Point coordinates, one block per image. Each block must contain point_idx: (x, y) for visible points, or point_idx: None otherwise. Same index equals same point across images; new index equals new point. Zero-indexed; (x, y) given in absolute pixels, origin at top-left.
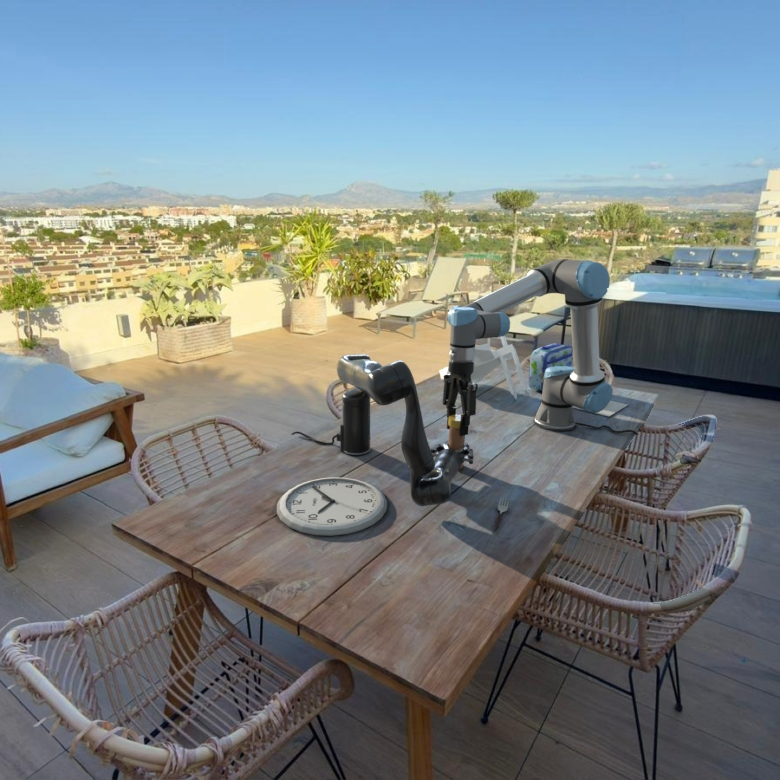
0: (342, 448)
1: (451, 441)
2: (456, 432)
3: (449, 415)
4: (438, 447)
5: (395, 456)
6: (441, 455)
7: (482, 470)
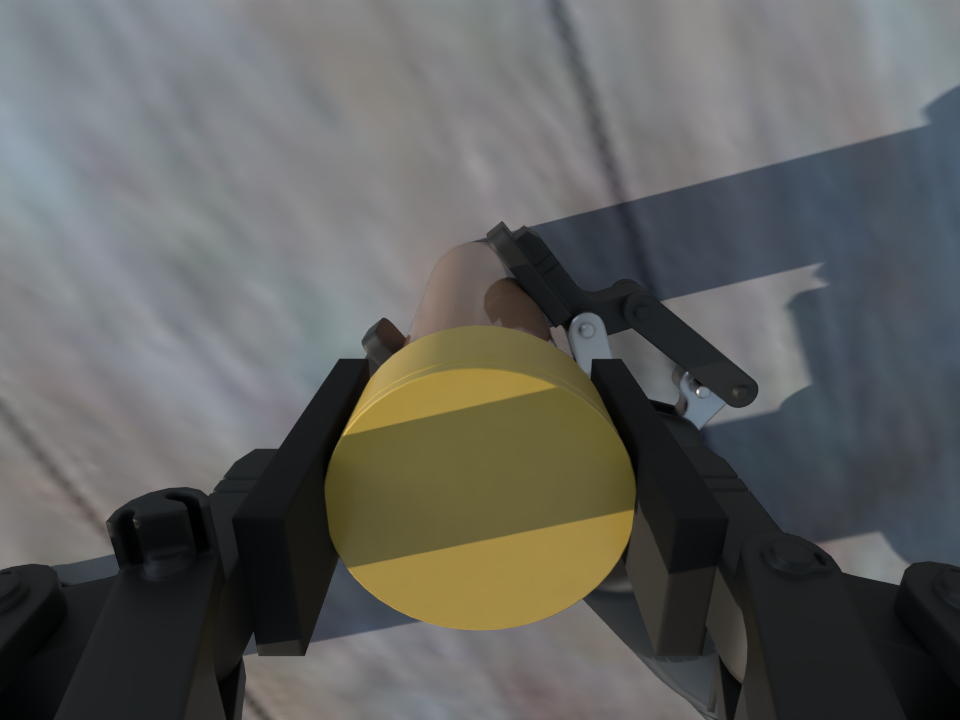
0: None
1: None
2: None
3: (333, 564)
4: None
5: None
6: (705, 679)
7: (630, 164)
